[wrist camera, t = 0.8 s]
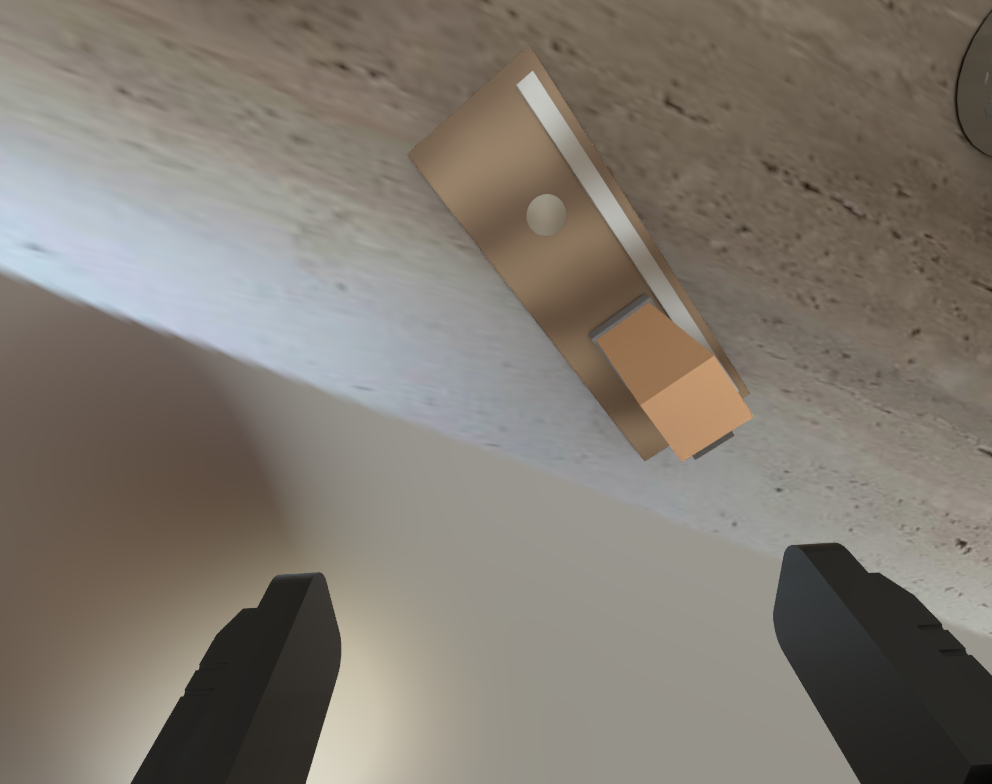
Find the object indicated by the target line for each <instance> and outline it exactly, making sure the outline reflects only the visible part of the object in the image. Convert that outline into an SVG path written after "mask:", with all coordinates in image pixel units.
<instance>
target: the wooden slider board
mask: <svg viewBox="0 0 992 784" xmlns="http://www.w3.org/2000/svg"><path fill="white" fill-rule="evenodd" d="M407 155H408V156H409V158H410V159H411V160H412V161H413V163H414V164H415V165H416V167H417V168H418V169H419V171H420V172H421V173H422V174H423V176H424V177H425V178H426V180H427V181H428V182H429V183H430V185H431V186H432V187H433V189H434V190H435V191H436V192H437V194H438V195H439V196H440V198H441V199H442V200H443V202H444V203H445V204H446V205H447V207H448V208H449V209H450V211H451V212H452V213H453V214H454V216H455V217H456V218H457V220H458V221H459V222H460V224H461V225H462V226H463V227H464V229H465V230H466V231H467V233H468V234H469V235H470V236H471V238H472V239H473V240H474V242H475V243H476V244H477V245H478V247H479V248H480V249H481V251H482V252H483V253H484V255H485V256H486V257H487V258H488V260H489V261H490V262H491V264H492V265H493V266H494V267H495V269H496V270H497V271H498V273H499V274H500V275H501V277H502V278H503V279H504V280H505V282H506V283H507V284H508V286H509V287H510V288H511V289H512V291H513V292H514V293H515V295H516V296H517V297H518V298H519V300H520V301H521V302H522V304H523V305H524V306H525V308H526V309H527V310H528V311H529V313H530V314H531V315H532V317H533V318H534V319H535V320H536V322H537V323H538V324H539V326H540V327H541V328H542V329H543V331H544V332H545V333H546V335H547V336H548V337H549V339H550V340H551V341H552V342H553V344H554V345H555V346H556V348H557V349H558V350H559V351H560V353H561V354H562V355H563V357H564V358H565V359H566V361H567V362H568V363H569V364H570V366H571V367H572V368H573V370H574V371H575V372H576V373H577V375H578V376H579V377H580V379H581V380H582V381H583V382H584V384H585V385H586V386H587V388H588V389H589V390H590V392H591V393H592V394H593V395H594V397H595V398H596V399H597V401H598V402H599V403H600V404H601V406H602V407H603V408H604V410H605V411H606V412H607V414H608V415H609V416H610V417H611V419H612V420H613V421H614V423H615V424H616V425H617V426H618V428H619V429H620V430H621V432H622V433H623V434H624V435H625V437H626V438H627V439H628V441H629V442H630V443H631V445H632V446H633V447H634V448H635V450H636V451H637V452H638V454H639V455H640V456H641V457H642V459H643V460H644V461H646V460H648V459H649V458H651V457H652V456H654V455H655V454H657V453H658V452H660V451H662V450H663V449H665V448H666V447H668V446H669V444H668V442H667V441H666V440H665V438H664V437H663V436H662V434H661V433H660V432H659V430H658V429H657V428H656V426H655V425H654V424H653V422H652V421H651V419H650V418H649V417H648V415H647V414H646V413H645V411H644V410H643V409H642V407H641V406H640V404H639V403H638V402H637V400H636V399H635V397H634V396H633V394H632V393H631V391H630V390H629V388H627V387H626V386H625V384H624V383H623V382H622V380H621V379H620V378H619V376H618V375H617V373H616V372H615V371H614V369H613V368H612V367H611V365H610V364H609V363H608V361H607V360H606V359H605V357H604V356H603V355H602V353H601V352H600V350H599V349H598V348H597V346H596V345H595V344H594V342H593V341H592V340H591V338H590V337H589V335H588V334H589V333H591V332H592V331H593V330H595V329H596V328H598V327H599V326H600V325H602V324H603V323H604V322H606V321H607V320H609V319H610V318H611V317H613V316H614V315H616V314H617V313H618V312H620V311H621V310H622V309H624V308H625V307H627V306H628V305H629V304H631V303H632V302H634V301H635V300H636V299H638V298H639V297H640V296H642V295H643V294H647V295H648V296H649V297H650V298H651V299H652V301H653V302H654V304H655V305H656V307H657V308H658V310H659V311H660V312H662V313H663V314H664V315H665V316H666V317H668V318H669V319H670V320H671V321H673V322H674V323H675V324H676V325H677V326H679V327H680V328H681V329H682V330H684V331H685V332H686V333H687V334H688V335H690V336H691V337H692V338H693V339H695V340H696V341H697V342H698V343H699V344H701V345H702V346H703V347H704V348H706V349H707V350H708V351H709V352H710V353H712V354H713V355H714V356H715V357H716V359H717V361H718V362H719V364H720V365H721V367H722V368H723V370H724V371H725V373H726V375H727V376H728V378H729V379H730V381H731V382H732V384H733V385H734V387H735V389H736V390H737V392H738V393H739V395H740V396H741V398H742V399H743V398H744V397H746V396H747V395H749V394H750V392H749V391H748V389H747V388H746V386H745V384H744V383H743V381H742V380H741V378H740V377H739V375H738V373H737V372H736V370H735V369H734V367H733V365H732V364H731V362H730V361H729V359H728V358H727V356H726V354H725V353H724V351H723V350H722V348H721V347H720V345H719V343H718V342H717V340H716V339H715V337H714V336H713V334H712V332H711V331H710V329H709V328H708V326H707V324H706V323H705V321H704V320H703V318H702V317H701V315H700V313H699V312H698V310H697V309H696V307H695V306H694V304H693V302H692V301H691V299H690V298H689V296H688V295H687V293H686V291H685V290H684V288H683V287H682V285H681V283H680V282H679V280H678V279H677V277H676V276H675V274H674V272H673V271H672V269H671V268H670V266H669V265H668V263H667V261H666V260H665V258H664V257H663V255H662V254H661V252H660V250H659V249H658V247H657V246H656V244H655V242H654V241H653V239H652V238H651V236H650V235H649V233H648V231H647V230H646V228H645V227H644V225H643V224H642V222H641V220H640V219H639V217H638V216H637V214H636V213H635V211H634V209H633V208H632V206H631V205H630V203H629V201H628V200H627V198H626V197H625V195H624V194H623V192H622V190H621V189H620V187H619V186H618V184H617V183H616V181H615V179H614V178H613V176H612V175H611V173H610V172H609V170H608V168H607V167H606V165H605V164H604V162H603V161H602V159H601V157H600V156H599V154H598V153H597V151H596V149H595V148H594V146H593V145H592V143H591V142H590V140H589V138H588V137H587V135H586V134H585V132H584V131H583V129H582V127H581V126H580V124H579V123H578V121H577V120H576V118H575V116H574V115H573V113H572V112H571V110H570V108H569V107H568V105H567V104H566V102H565V101H564V99H563V97H562V96H561V94H560V93H559V91H558V90H557V88H556V86H555V85H554V83H553V82H552V80H551V79H550V77H549V75H548V74H547V72H546V71H545V69H544V67H543V66H542V64H541V63H540V61H539V60H538V58H537V56H536V55H535V53H534V52H533V50H532V49H531V47H530V45H529V46H528V47H527V48H526V49H525V50H523V51H522V52H521V53H520V54H519V55H518V56H517V57H516V58H514V59H513V60H512V61H511V62H510V63H509V64H508V65H507V66H505V67H504V68H503V69H502V70H501V71H500V72H499V73H498V74H497V75H495V76H494V77H493V78H492V79H491V80H490V81H489V82H488V83H486V84H485V85H484V86H483V87H482V88H481V89H480V90H479V91H477V92H476V93H475V94H474V95H473V96H472V97H471V98H470V99H468V100H467V101H466V102H465V103H464V104H463V105H462V106H461V107H460V108H458V109H457V110H456V111H455V112H454V113H453V114H452V115H451V116H449V117H448V118H447V119H446V120H445V121H444V122H443V123H442V124H440V125H439V126H438V127H437V128H436V129H435V130H434V131H433V132H432V133H430V134H429V135H428V136H427V137H426V138H425V139H424V140H423V141H421V142H420V143H419V144H418V145H417V146H416V147H415V148H414V149H412V150H411V151H410V152H409V153H408V154H407ZM733 436H734V434H733V433H732V431H730V432H729V433H727V434H726V435H724V436H722V437H721V438H719V439H718V440H716V441H715V442H713V443H711V444H710V445H708V446H707V447H705V448H703V449H702V450H700V451H699V452H697V453H695V454H694V455H692V456H693V457H694V459H695V460H696V459H698V458H699V457H701V456H702V455H704V454H706V453H707V452H709V451H710V450H712V449H714V448H715V447H717V446H718V445H720V444H722V443H723V442H725V441H726V440H728V439H730V438H731V437H733Z"/></svg>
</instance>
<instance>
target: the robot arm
mask: <svg viewBox="0 0 992 784" xmlns="http://www.w3.org/2000/svg"><path fill="white" fill-rule="evenodd" d="M957 103H958V112H959V119H960V121H961V124H962V127H963V130H964V132H965V134H966V135H967V137H968V138H969V139H970V141H971V142H972V144H973V145H974V146H975V147H977V148H978V149H979V150H981V151H982V152H984V153H985V154H987V155H990V156H992V12H991V14H990V15H989V16H988V17H987V19H986V20H985V22H984V23H983V25H982V26H981V28H980V29H979V31H978V33H977V34H976V36H975V37H974V39H973V42H972V44H971V46H970V48H969V50H968V53H967V55H966V57H965V59H964V63H963V67H962V70H961V74H960V78H959V84H958V95H957ZM773 620H774V627H775V632H776V636H777V639H778V642H779V644H780V646H781V649H782V651H783V652H784V654H785V656H786V657H787V659H788V661H789V663H790V664H791V666H792V668H793V669H794V671H795V673H796V675H797V676H798V678H799V680H800V681H801V683H802V685H803V686H804V688H805V690H806V691H807V693H808V695H809V697H810V698H811V700H812V702H813V703H814V705H815V707H816V708H817V710H818V712H819V714H820V715H821V717H822V719H823V720H824V722H825V724H826V725H827V727H828V729H829V731H830V732H831V734H832V736H833V737H834V739H835V741H836V742H837V744H838V746H839V748H840V749H841V751H842V753H843V754H844V756H845V758H846V759H847V761H848V763H849V764H850V766H851V768H852V770H853V771H854V773H855V774H856V776H857V778H858V780H859V781H860V783H861V784H992V675H991V674H990V673H989V672H988V671H987V670H986V669H985V668H984V667H983V666H982V665H981V664H980V663H979V662H978V661H977V660H976V659H975V658H974V657H973V656H972V655H968V654H967V653H966V650H965V647H964V646H963V645H962V644H961V643H960V642H959V641H958V640H957V639H956V638H955V637H954V636H953V635H952V634H951V633H950V632H949V631H948V630H944V629H943V628H942V624H941V623H940V621H939V620H938V619H937V618H936V617H935V616H934V615H933V614H932V613H931V612H930V611H929V610H928V609H927V608H926V607H925V606H924V605H923V604H922V603H921V602H920V601H919V600H918V599H917V598H916V597H915V596H914V595H913V594H911V593H910V592H908V591H907V590H905V589H903V588H902V587H900V586H899V585H897V584H896V583H894V582H893V581H891V580H890V579H888V578H886V577H885V576H883V575H882V574H880V573H868V572H867V571H866V570H865V569H864V567H863V566H862V565H861V564H860V563H859V562H858V561H857V560H856V559H855V558H854V556H853V555H852V554H851V553H850V552H849V551H848V550H847V549H846V548H845V547H844V546H842V545H841V544H839V543H820V544H803V545H791V546H789V547H787V549H786V550H785V553H784V557H783V562H782V568H781V573H780V578H779V584H778V589H777V594H776V600H775V605H774V611H773ZM340 661H341V637H340V632H339V629H338V625H337V621H336V617H335V613H334V609H333V606H332V601H331V598H330V594H329V590H328V586H327V582H326V579H325V577H324V575H323V574H322V573H320V572H319V573H303V574H285V575H277V576H276V577H274V579H272V581H271V583H270V585H269V586H268V588H267V590H266V592H265V594H264V596H263V598H262V600H261V602H260V604H259V606H258V607H257V608H247V609H242V610H241V611H240V612H239V613H238V614H237V615H236V616H235V617H234V618H233V619H232V620H231V621H230V622H229V623H228V624H227V625H226V626H225V627H224V628H223V629H222V630H221V631H220V632H219V633H218V634H217V635H216V637H215V638H214V640H213V642H212V643H211V645H210V647H209V649H208V651H207V652H206V654H205V656H204V657H203V659H202V661H201V663H200V664H199V665H200V668H199V670H196V671H195V673H194V675H193V676H192V678H191V680H190V682H189V683H188V685H187V687H186V688H185V694H184V696H183V697H180V699H179V701H178V702H177V704H176V706H175V708H174V709H173V711H172V713H171V715H170V716H169V718H168V720H167V721H166V723H165V725H164V727H163V728H162V730H161V732H160V733H159V735H158V737H157V739H156V740H155V742H154V744H153V746H152V748H151V749H150V751H149V753H148V754H147V756H146V758H145V759H144V761H143V763H142V765H141V766H140V768H139V770H138V772H137V773H136V775H135V777H134V779H133V780H132V782H131V784H306V780H307V777H308V774H309V770H310V767H311V764H312V760H313V757H314V753H315V750H316V747H317V743H318V740H319V737H320V733H321V730H322V727H323V723H324V720H325V717H326V713H327V710H328V706H329V703H330V700H331V696H332V693H333V690H334V686H335V683H336V680H337V676H338V672H339V668H340Z"/></svg>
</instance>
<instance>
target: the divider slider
mask: <svg viewBox="0 0 992 784" xmlns="http://www.w3.org/2000/svg"><path fill="white" fill-rule="evenodd" d="M588 335H589V337H590V338H591V340H592V341H593V342H594V344H595V345H596V346H597V348H598V349H599V350H600V352H601V353H602V355H603V356H604V357H605V359H606V360H607V361H608V363H609V364H610V365H611V367H612V368H613V369H614V371H615V372H616V373H617V375H618V376H619V378H620V379H621V380H622V382H623V383H624V384H625V386H626V387H627V388H629V390H630V391H631V393H632V394H633V396H634V397H635V399H636V400H637V402H638V403H639V404H640V406H641V407H642V409H643V410H644V411H645V413H646V414H647V415H648V417H649V418H650V419H651V421H652V422H653V424H654V425H655V426H656V428H657V429H658V430H659V432H660V433H661V434H662V436H663V437H664V438H665V440H666V441H667V442H668V444H669V445H670V447H671V448H672V449H673V451H674V452H675V453H676V455H677V456H678V457H679V459H680V460H681V461H682V462H683V461H684V460H686V459H688V458H689V457H691V456H692V455H694V454H695V453H697V452H699V451H700V450H702V449H703V448H705V447H707V446H708V445H710V444H711V443H713V442H715V441H716V440H718V439H719V438H721V437H722V436H724V435H726V434H727V433H729V432H730V431H732V430H734V429H735V428H737V427H738V426H740V425H742V424H743V423H745V422H746V421H748V420H749V419H751V418H753V417H754V416H753V415H752V413H751V412H750V410H749V409H748V407H747V406H746V404H745V403H744V401H743V399H742V398H741V396H740V395H739V393H738V392H737V390H736V389H735V387H734V385H733V384H732V382H731V381H730V379H729V378H728V376H727V375H726V373H725V371H724V370H723V368H722V367H721V365H720V364H719V362H718V361H717V359H716V357H715V356H714V355H713V354H712V353H710V352H709V351H708V350H707V349H706V348H704V347H703V346H702V345H701V344H699V343H698V342H697V341H696V340H695V339H693V338H692V337H691V336H690V335H688V334H687V333H686V332H685V331H684V330H682V329H681V328H680V327H679V326H677V325H676V324H675V323H674V322H673V321H671V320H670V319H669V318H668V317H666V316H665V315H664V314H663V313H662V312H660V311H659V310H658V308H657V307H656V305H655V304H654V302H653V301H652V299H651V298H650V297H649V296H648V295H647V294H643V295H642V296H640V297H639V298H638V299H636V300H635V301H634V302H632V303H631V304H629V305H628V306H627V307H625V308H624V309H622V310H621V311H620V312H618V313H617V314H616V315H614V316H613V317H611V318H610V319H609V320H607V321H606V322H604V323H603V324H602V325H600V326H599V327H598V328H596V329H595V330H593V331H592V332H591V333H589V334H588Z"/></svg>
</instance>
